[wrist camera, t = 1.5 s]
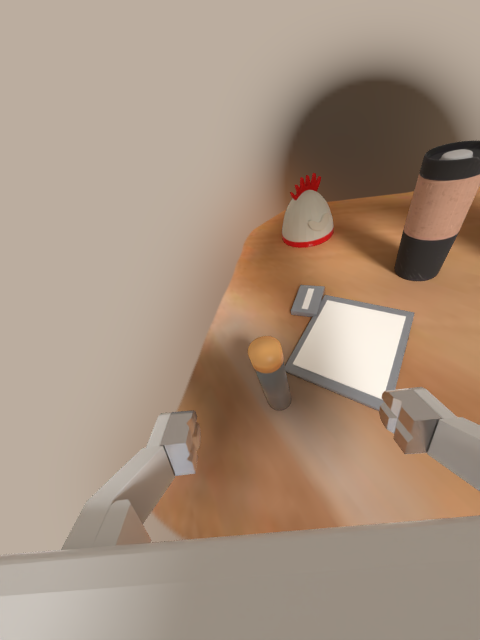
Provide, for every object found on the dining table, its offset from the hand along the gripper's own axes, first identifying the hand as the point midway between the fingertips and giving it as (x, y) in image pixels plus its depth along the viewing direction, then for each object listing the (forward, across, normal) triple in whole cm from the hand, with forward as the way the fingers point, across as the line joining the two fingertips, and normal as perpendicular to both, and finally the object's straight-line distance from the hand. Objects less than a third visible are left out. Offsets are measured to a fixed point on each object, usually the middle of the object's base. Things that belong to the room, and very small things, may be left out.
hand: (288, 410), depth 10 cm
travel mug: (+37, -33, +6) cm, 50 cm away
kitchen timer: (+61, -19, -1) cm, 64 cm away
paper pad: (+25, -15, +13) cm, 32 cm away
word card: (+36, -12, +10) cm, 39 cm away
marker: (+19, -2, +18) cm, 26 cm away
